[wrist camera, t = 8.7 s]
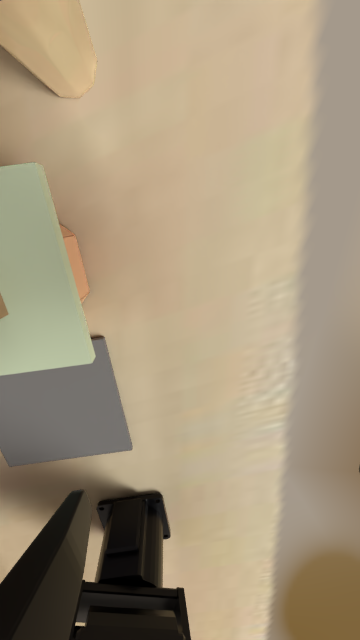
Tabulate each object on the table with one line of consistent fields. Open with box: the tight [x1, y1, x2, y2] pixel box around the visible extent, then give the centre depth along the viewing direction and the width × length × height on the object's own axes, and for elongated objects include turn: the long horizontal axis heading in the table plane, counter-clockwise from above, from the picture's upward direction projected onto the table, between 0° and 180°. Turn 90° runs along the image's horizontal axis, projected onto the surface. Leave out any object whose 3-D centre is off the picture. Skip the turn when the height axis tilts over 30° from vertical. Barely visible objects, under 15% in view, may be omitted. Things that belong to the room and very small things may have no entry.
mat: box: [0, 337, 132, 467], centre depth 21 cm, size 11×11×1 cm
